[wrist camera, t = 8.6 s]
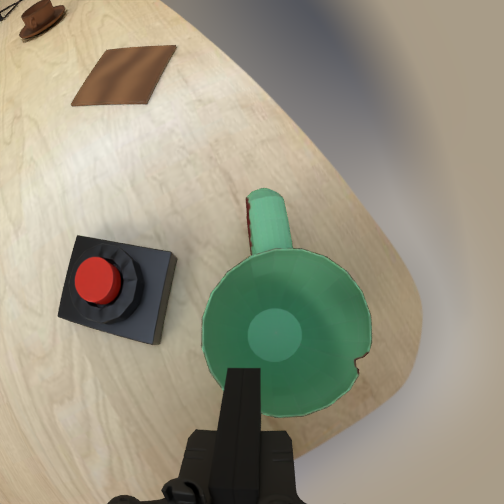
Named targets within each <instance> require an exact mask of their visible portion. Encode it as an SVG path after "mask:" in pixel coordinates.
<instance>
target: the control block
mask: <svg viewBox="0 0 504 504" xmlns="http://www.w3.org/2000/svg"><path fill="white" fill-rule="evenodd" d="M91 257H100V258H103V259H105V260H106V261H108V262H109V263H111V264H113V265H114V266H115V267H116V268H117V269H118V271H119V273H120V276H121V288H120V291H119V293H118V295H117V296H116V298H115V299H114V300H113V301H111V302H110V303H108V304H103V305H100V304H95V303H92V302H88V301H86V300H84V299H83V298H82V297H81V296H80V295H79V294H78V292H77V290H76V286H75V276H76V272H77V270H78V268H79V266H80V265H81V264H82V263H83V262H84V261H85V260H87V259H89V258H91ZM176 261H177V258H176V257H175V256H174V254H173V253H172V252H169V251H163V250H157V249H152V248H146V247H140V246H135V245H129V244H123V243H118V242H112V241H107V240H101V239H96V238H90V237H85V236H79V235H77V237H76V241H75V244H74V248H73V251H72V255H71V259H70V262H69V266H68V270H67V274H66V278H65V283H64V287H63V292H62V296H61V301H60V306H59V311H58V317H60V318H62V319H65V320H68V321H71V322H74V323H78V324H81V325H84V326H87V327H90V328H93V329H97V330H100V331H103V332H107V333H110V334H114V335H117V336H121V337H124V338H128V339H132V340H136V341H139V342H143V343H147V344H151V345H157V344H160V340H161V334H162V329H163V323H164V318H165V313H166V308H167V303H168V298H169V293H170V288H171V283H172V279H173V274H174V270H175V265H176Z"/></svg>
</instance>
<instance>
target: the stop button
mask: <svg viewBox="0 0 504 504" xmlns="http://www.w3.org/2000/svg"><path fill="white" fill-rule="evenodd" d="M75 286H76V290H77V292H78V294H79V295H80V296H81V297H82V298H83V299H84V300H86V301H88V302H92V303H95V304H100V305H103V304H108V303H110V302H111V301H113V300H114V299H115V298H116V296H117V295H118V293H119V291H120V288H121V276H120V273H119V271H118V269H117V268H116V267H115V266H114V265H113V264H111V263H109V262H108V261H106V260H105V259H103V258H100V257H91V258H89V259H87V260H85V261H84V262H83V263H82V264H81V265H80V266H79V268H78V270H77V272H76V276H75Z"/></svg>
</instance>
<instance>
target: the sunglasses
mask: <svg viewBox="0 0 504 504" xmlns="http://www.w3.org/2000/svg"><path fill="white" fill-rule="evenodd" d="M20 1H22V0H19V1H18V2H16V3H14V4H12V5H10V6H8V7H7V8H5V9H3V10H1V11H0V13H1V12H2V11H4V10H6V9H8V8H9V7H11V6H13V5H15V4H16V5H15V6H14V7H13V8H12V9H11V10H10V11H9V12H8V13H7V14H6V15H5V17H4V18H3V17H2V16H1V14H0V21H2V20H3V19H5V18H6V17H7V16H8V14H9V13H10V12H11V11H12V10H13V9H14V8H15V7H16V6H17V5H18V4H19V2H20Z"/></svg>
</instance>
